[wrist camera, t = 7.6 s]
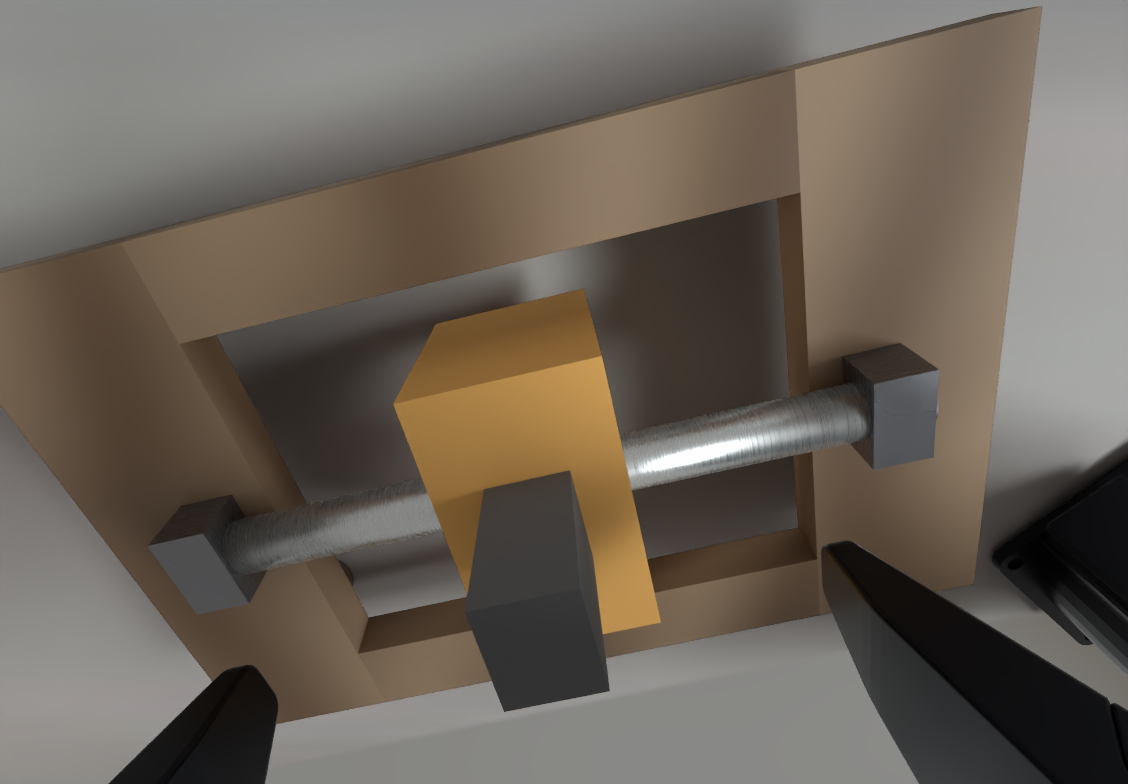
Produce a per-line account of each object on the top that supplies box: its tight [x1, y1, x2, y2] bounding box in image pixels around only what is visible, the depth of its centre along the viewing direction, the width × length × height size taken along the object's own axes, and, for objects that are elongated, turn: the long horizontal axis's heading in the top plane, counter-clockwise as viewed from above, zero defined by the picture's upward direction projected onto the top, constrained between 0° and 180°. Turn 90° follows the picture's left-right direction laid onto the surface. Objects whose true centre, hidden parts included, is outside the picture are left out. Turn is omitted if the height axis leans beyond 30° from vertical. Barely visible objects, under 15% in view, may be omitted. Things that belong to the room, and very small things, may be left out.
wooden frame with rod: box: [0, 6, 1042, 724], centre depth 15 cm, size 20×13×4 cm, turn 103°
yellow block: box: [393, 289, 661, 712], centre depth 12 cm, size 4×6×8 cm, turn 13°
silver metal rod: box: [148, 343, 939, 615], centre depth 13 cm, size 16×2×1 cm, turn 103°
